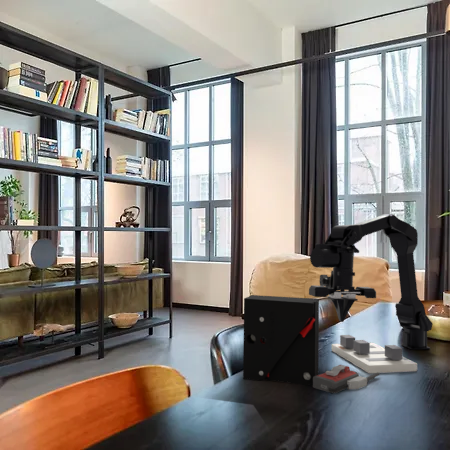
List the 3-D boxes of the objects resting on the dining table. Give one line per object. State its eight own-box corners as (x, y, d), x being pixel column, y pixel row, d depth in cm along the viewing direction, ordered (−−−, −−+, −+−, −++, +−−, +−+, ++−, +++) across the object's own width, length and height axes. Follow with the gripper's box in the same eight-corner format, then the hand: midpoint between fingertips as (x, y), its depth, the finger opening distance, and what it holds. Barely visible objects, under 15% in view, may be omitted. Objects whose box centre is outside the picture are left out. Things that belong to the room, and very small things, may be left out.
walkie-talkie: (340, 399, 102) (382, 380, 116) (340, 379, 102) (382, 362, 116) (307, 389, 108) (351, 372, 122) (307, 370, 108) (351, 355, 122)
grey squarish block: (394, 355, 129) (394, 344, 129) (402, 359, 125) (402, 348, 125) (384, 355, 129) (384, 345, 129) (392, 359, 125) (392, 348, 125)
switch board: (372, 348, 146) (372, 342, 146) (417, 371, 123) (417, 363, 123) (331, 350, 144) (331, 343, 144) (368, 373, 120) (368, 365, 120)
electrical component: (319, 376, 117) (320, 297, 118) (313, 388, 108) (314, 303, 108) (253, 368, 123) (254, 294, 123) (242, 379, 113) (243, 298, 114)
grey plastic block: (349, 344, 142) (349, 334, 142) (355, 347, 138) (355, 337, 138) (340, 344, 141) (340, 335, 141) (345, 348, 137) (345, 337, 137)
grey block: (362, 350, 135) (363, 339, 135) (369, 353, 131) (369, 343, 131) (353, 350, 134) (353, 340, 134) (359, 353, 130) (359, 343, 130)
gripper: (360, 267, 144) (358, 317, 143) (303, 265, 140) (301, 316, 140) (377, 269, 133) (376, 323, 132) (316, 267, 129) (314, 323, 129)
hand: (341, 321), depth 133 cm, fingers closed
